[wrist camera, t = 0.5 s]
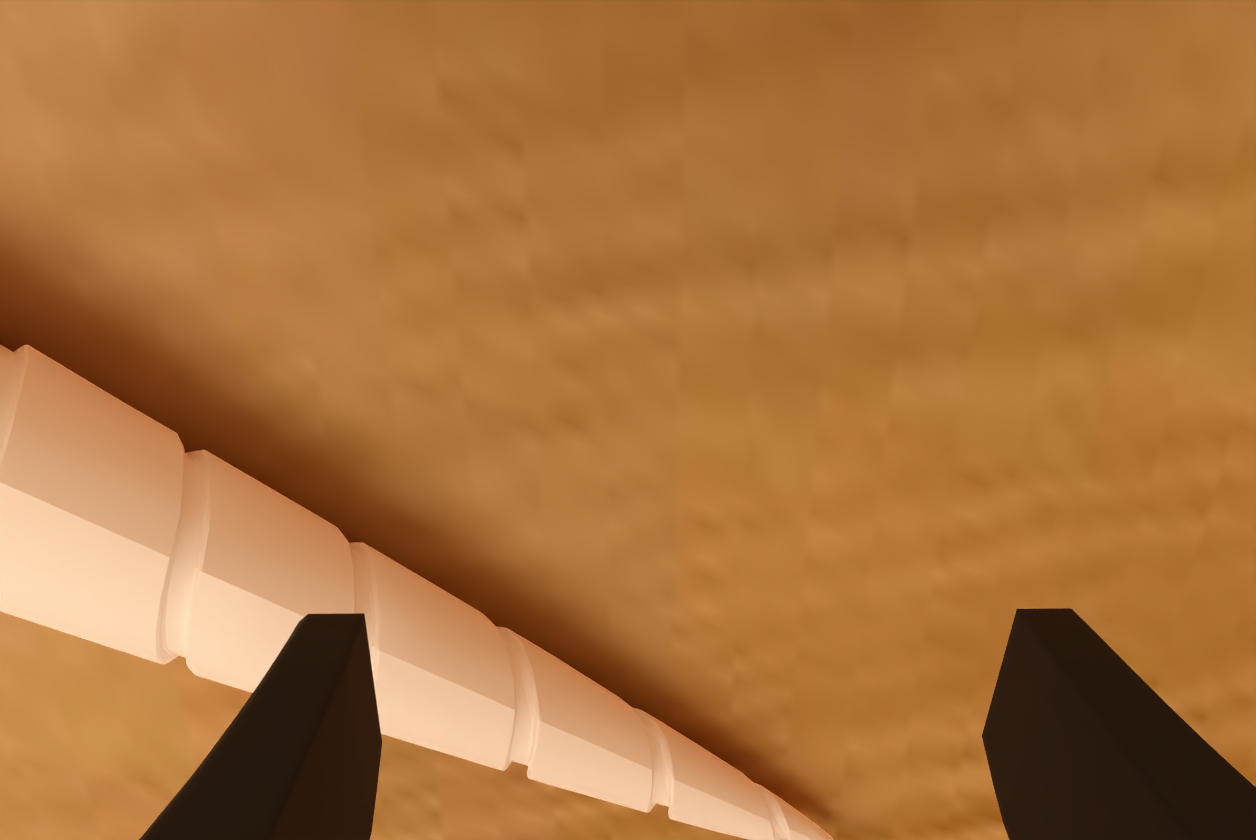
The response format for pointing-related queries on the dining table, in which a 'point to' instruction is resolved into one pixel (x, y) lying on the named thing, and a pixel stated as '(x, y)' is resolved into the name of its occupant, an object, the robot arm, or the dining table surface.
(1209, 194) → the dining table surface
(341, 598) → the unicorn horn
